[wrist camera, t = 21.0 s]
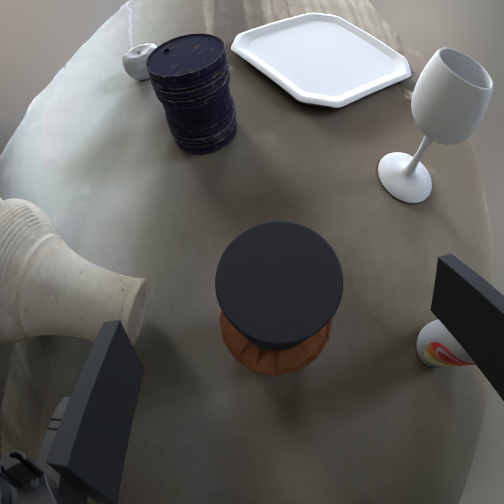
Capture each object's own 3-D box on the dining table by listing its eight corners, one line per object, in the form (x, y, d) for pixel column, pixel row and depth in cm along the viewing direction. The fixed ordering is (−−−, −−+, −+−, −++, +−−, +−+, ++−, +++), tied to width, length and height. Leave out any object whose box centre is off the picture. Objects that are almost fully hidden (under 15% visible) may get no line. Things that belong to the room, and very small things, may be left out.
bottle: (300, 296, 35) (326, 234, 18) (314, 361, 33) (357, 359, 16) (234, 309, 35) (200, 258, 18) (246, 375, 33) (221, 388, 16)
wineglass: (434, 169, 40) (497, 69, 21) (425, 213, 38) (506, 112, 18) (385, 144, 42) (429, 32, 22) (370, 186, 40) (425, 65, 20)
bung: (302, 278, 21) (325, 210, 12) (316, 344, 20) (357, 327, 10) (235, 291, 21) (206, 232, 12) (247, 358, 20) (226, 355, 10)
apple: (151, 59, 54) (143, 36, 47) (174, 68, 51) (167, 42, 45) (122, 80, 52) (111, 57, 46) (143, 91, 50) (132, 65, 43)
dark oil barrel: (249, 118, 45) (241, 39, 31) (215, 164, 42) (193, 83, 28) (197, 102, 47) (177, 30, 33) (161, 143, 44) (128, 70, 30)
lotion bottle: (433, 376, 31) (553, 370, 12) (406, 345, 32) (521, 317, 14) (459, 342, 32) (576, 311, 13) (434, 312, 33) (546, 260, 15)
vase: (207, 191, 26) (-19, 140, 23) (129, 462, 15) (-106, 313, 13) (193, 282, 45) (36, 232, 42) (155, 428, 34) (-11, 355, 32)
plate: (219, 48, 53) (218, 40, 51) (324, 15, 57) (324, 8, 55) (317, 126, 44) (318, 116, 42) (420, 78, 48) (423, 70, 46)
